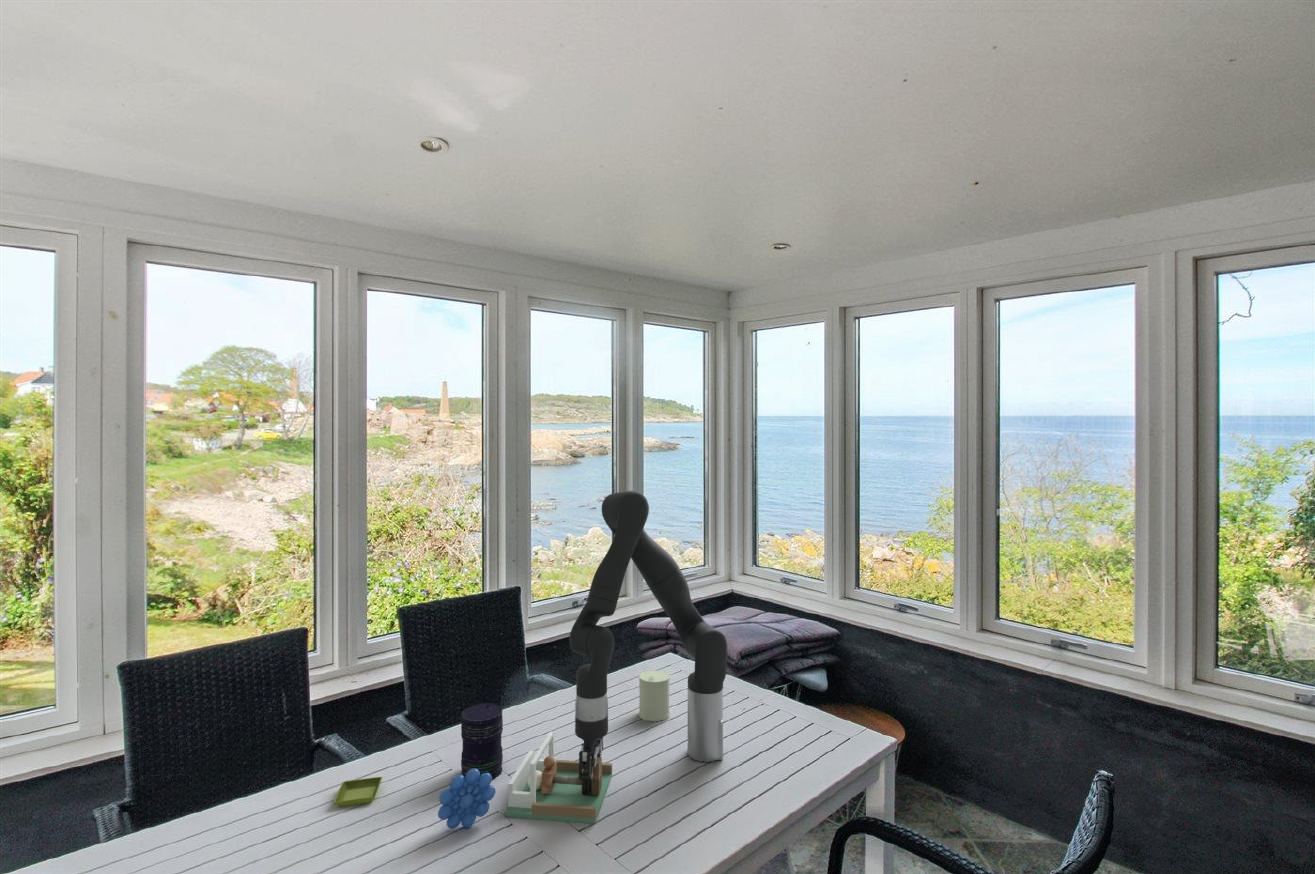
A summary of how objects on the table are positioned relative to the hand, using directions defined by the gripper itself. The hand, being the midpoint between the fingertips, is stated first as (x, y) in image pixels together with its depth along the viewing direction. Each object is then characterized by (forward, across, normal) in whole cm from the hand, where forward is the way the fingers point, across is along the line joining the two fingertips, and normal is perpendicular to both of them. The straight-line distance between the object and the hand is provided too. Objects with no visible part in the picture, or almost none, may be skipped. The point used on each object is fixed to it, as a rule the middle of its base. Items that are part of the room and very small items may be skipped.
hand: (591, 783), depth 142 cm
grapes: (+3, -13, +24) cm, 27 cm away
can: (+3, +44, -9) cm, 45 cm away
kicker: (+2, 0, +5) cm, 5 cm away
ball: (0, 0, +13) cm, 13 cm away
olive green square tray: (+4, -6, +53) cm, 53 cm away
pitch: (+3, 0, +7) cm, 8 cm away
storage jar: (+3, +7, +29) cm, 30 cm away
